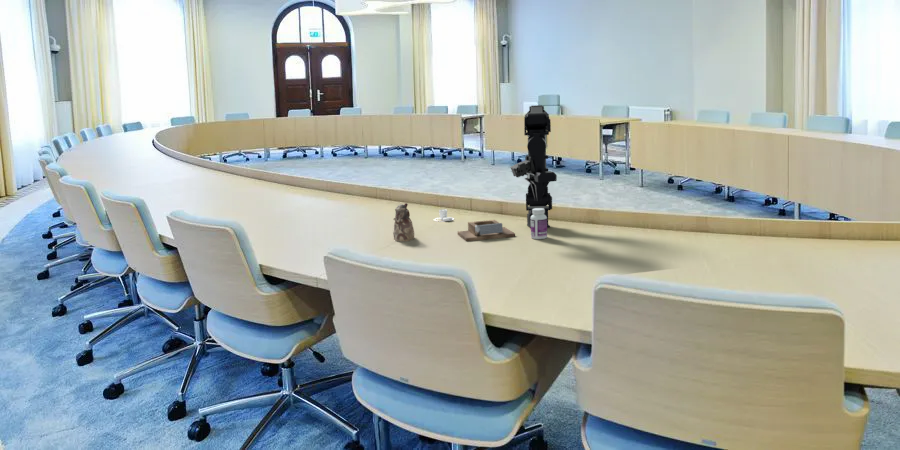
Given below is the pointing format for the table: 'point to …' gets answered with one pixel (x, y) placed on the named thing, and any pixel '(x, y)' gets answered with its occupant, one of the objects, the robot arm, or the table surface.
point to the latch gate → (488, 229)
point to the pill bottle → (538, 224)
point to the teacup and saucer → (443, 216)
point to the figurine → (403, 224)
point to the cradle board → (471, 235)
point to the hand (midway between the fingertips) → (537, 200)
